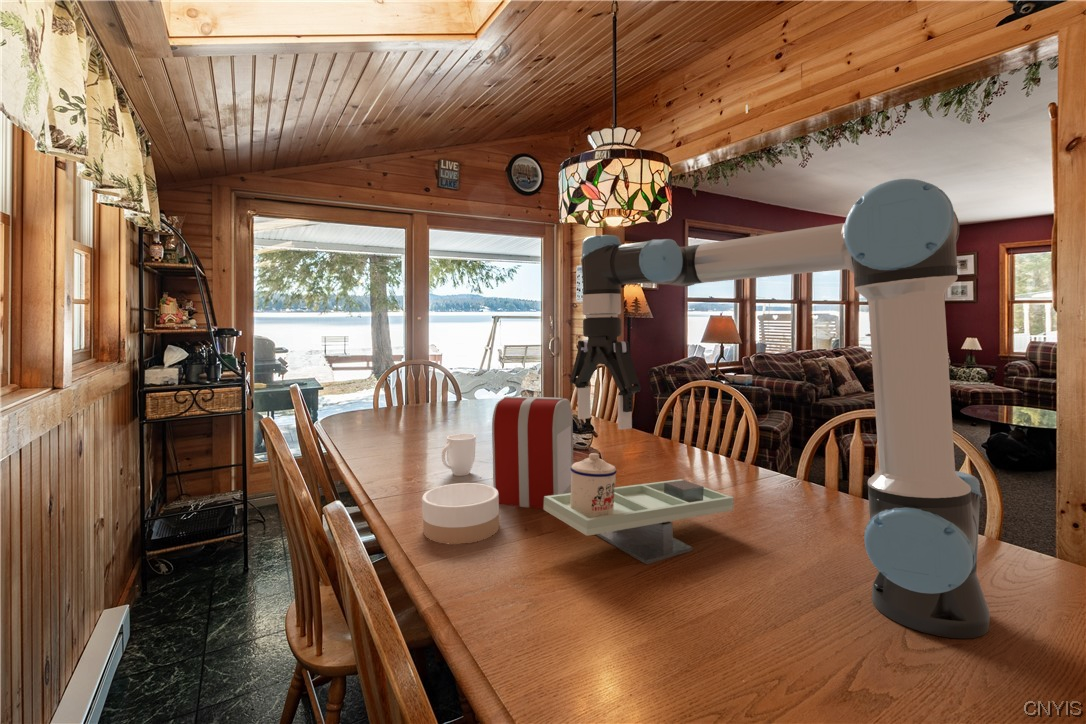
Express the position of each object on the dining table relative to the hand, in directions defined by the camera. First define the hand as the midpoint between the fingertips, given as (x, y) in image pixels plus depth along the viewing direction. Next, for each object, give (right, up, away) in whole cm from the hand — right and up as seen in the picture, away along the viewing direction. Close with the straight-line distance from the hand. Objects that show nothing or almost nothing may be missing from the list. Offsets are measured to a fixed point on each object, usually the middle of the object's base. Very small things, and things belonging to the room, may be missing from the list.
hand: (603, 423), depth 108 cm
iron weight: (+19, -18, +12) cm, 29 cm away
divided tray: (+9, -18, +6) cm, 21 cm away
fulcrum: (+9, -26, +7) cm, 28 cm away
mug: (-38, -23, +60) cm, 74 cm away
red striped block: (-14, -24, +38) cm, 47 cm away
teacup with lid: (-1, -18, +1) cm, 18 cm away
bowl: (-31, -26, +16) cm, 43 cm away
